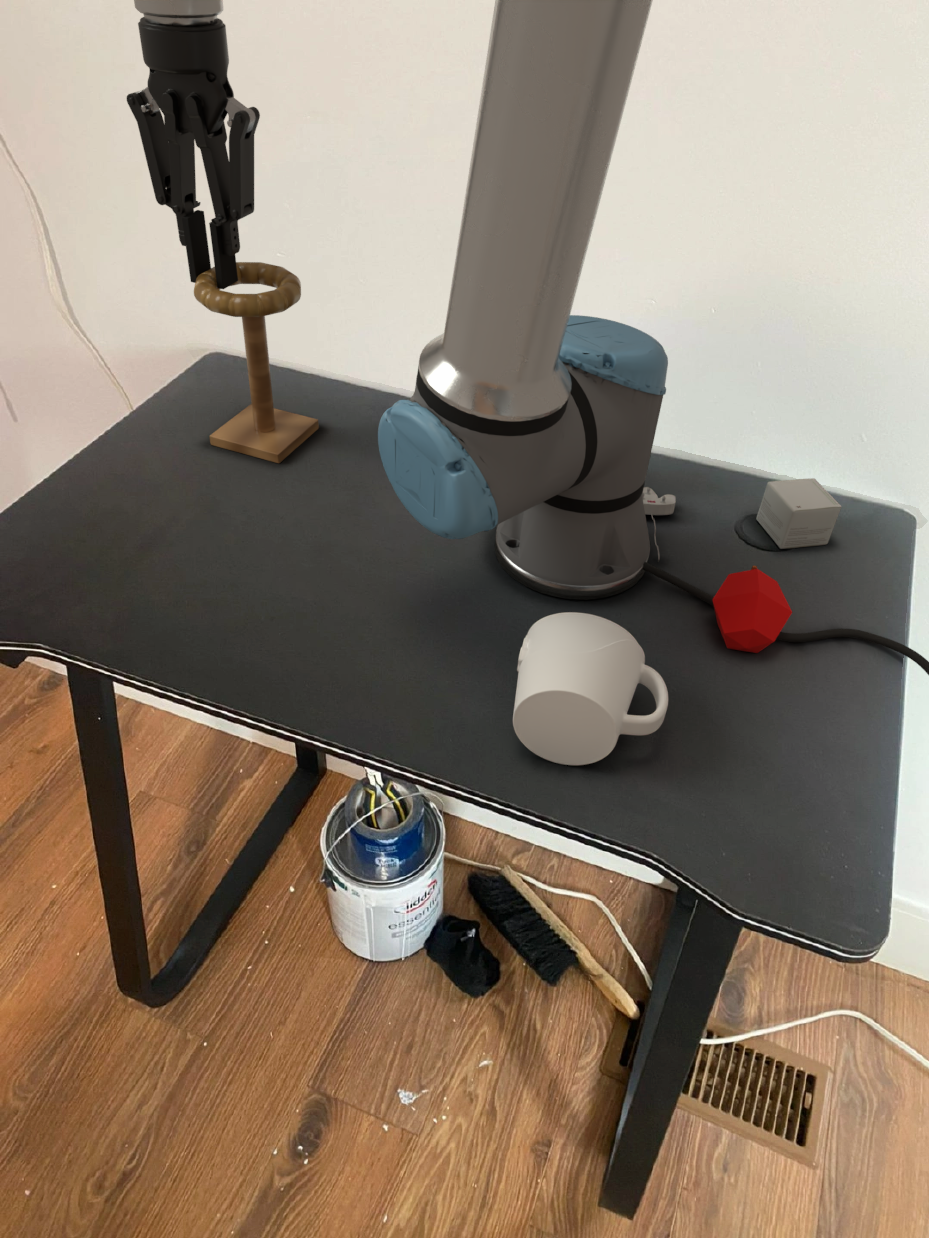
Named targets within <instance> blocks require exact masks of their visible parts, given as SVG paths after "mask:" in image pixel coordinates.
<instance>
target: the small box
mask: <svg viewBox="0 0 929 1238" xmlns="http://www.w3.org/2000/svg"><path fill="white" fill-rule="evenodd" d="M842 508H843V507H842V505H841V504H840V503H839V502H838V501H837V500H836V499H835V498H834V497H833V496H832V495H831V494H830V492H828V490H827V489H825V488H824V486H822V485H821V483H820V482H819V480H817V479H816V478H813V477H812V478H811V477H810V478H798V479H797V478H796V479H785V480H772V481H768V482H767V483H766V486H765V490H764V493H763V495H762V499H761V503H760V506H759V509H758V512H757V515H756V519H755V520H756V521H757V522H758V523H759V524H760V526H761V527H762V528H763V529H764V531H765V532H766V533H767V534H768V535H769V537H770V538H771V539H772V541H774V543H775V545H777V547H778V548H779V549H780V550H783V549H795V548H805V547H816V546H824V545H827V544H828V543H829V542H830V539H831V536H832V533H833V531H834V528H835V526H836V524H837V520H838V518H839V515H840V512H841V509H842Z"/></svg>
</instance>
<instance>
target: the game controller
mask: <svg viewBox="0 0 929 1238" xmlns="http://www.w3.org/2000/svg"><path fill="white" fill-rule="evenodd" d="M642 498H643V504H644V510H645V515H651V519H652V520H653V524H654V525H653V526H654V532H653V533H654V534H653V537H654V543H655V547H656V549H657V557H658V558H657V562H658V563H659V562H660V558H661V557H660V548H659V545H657V538H656V535H657V534H656V533H657V527H656V520H655V518H654V517H653V516H668V515H673V514H674V512H675V507H676V501H677V500H676V499H677V498H676V495H673V494H669V493H667V494H664V495H662V496H660V497H658V495H657V494H656V492H655V491H654V490H653V489H652V488H650V487H649V486H644V488H643V494H642Z"/></svg>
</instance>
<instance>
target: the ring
mask: <svg viewBox="0 0 929 1238" xmlns="http://www.w3.org/2000/svg"><path fill="white" fill-rule="evenodd" d="M236 266H237V275H238V281H237V282H235V283H233V284H232V285H230V286H228V287H227V288H229V287H232V286H237V285H262V286H267V287H272V288H275V289H272V290H268V291H264V292H259V293H234V292H229V291H226V290H222V289H220V288H217V281H216V273H215V266H213V267H211V269H209V270H207V271H205V272H204V273H202V274H200V275H199V276H198V277H197V279H196V282H195V283H194V287H193V296H194V298H195V300H196V301H197V302H198V303H200V305H202V306H204V307H205V308H206V309H207V310H208V311H210V312H213V313H217V314H221V315H225V316H229V317H233V318H242V317H262V316H265V317H267V316H271V315H274V314H280V313H283V312H285V311H287V310H288V309H290V308H291V307H293V306H294V305H296V304H297V303H298V302H299V301H300V300H301V297H302V283H301V280H300V278H299V276H297V275H296V274H294V273H292V272H291V271H290V270H288V269H287V268H285V267H283V266H280V265H275V264H272V263H271V264H270V263H267V262H261V261H259V262H258V261H236Z"/></svg>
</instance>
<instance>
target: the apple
mask: <svg viewBox="0 0 929 1238" xmlns="http://www.w3.org/2000/svg"><path fill="white" fill-rule="evenodd" d="M713 597H714V598H713V599H712V600H713V605H714V606H713V609H714V614H715V618H716V623H717V626H718V628H719V630H720V634H721V636H722V639H723V641H724V643H725V646H726V649H729V650H736V651H740V652H741V651H742V652H747V653H753V654H758V653H760V652H761V651H763V650H764V649H766V648H767V647H769V646H771V644H773V643H775V642H776V640H777V639H776V638H777V636H778V635H779V633H780V632H782V630H783V628H784V627H785V625H786V624H787V622H788V620H789V619H790V617H791V615H792V614H793V611H792V609H791V606H790V604H789V602H788V601H787V599H786V597H785V594H784V593H783V590H782V588H781V586H780V584H779V582H778V581H777V580H776V579H774V578H772V577H771V576H769V575H768V574H766V573H764V572H763V571H762V570H761V569H759V568H758V565H752V566H751V568H750V569H749V570H743V571H738V572H733V573H728V574H727V576H726V578H725V579H724V581H723V583H722V584H721V585H720V587H719V589H718V590H717V592H716V593H715V595H714V596H713Z"/></svg>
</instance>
